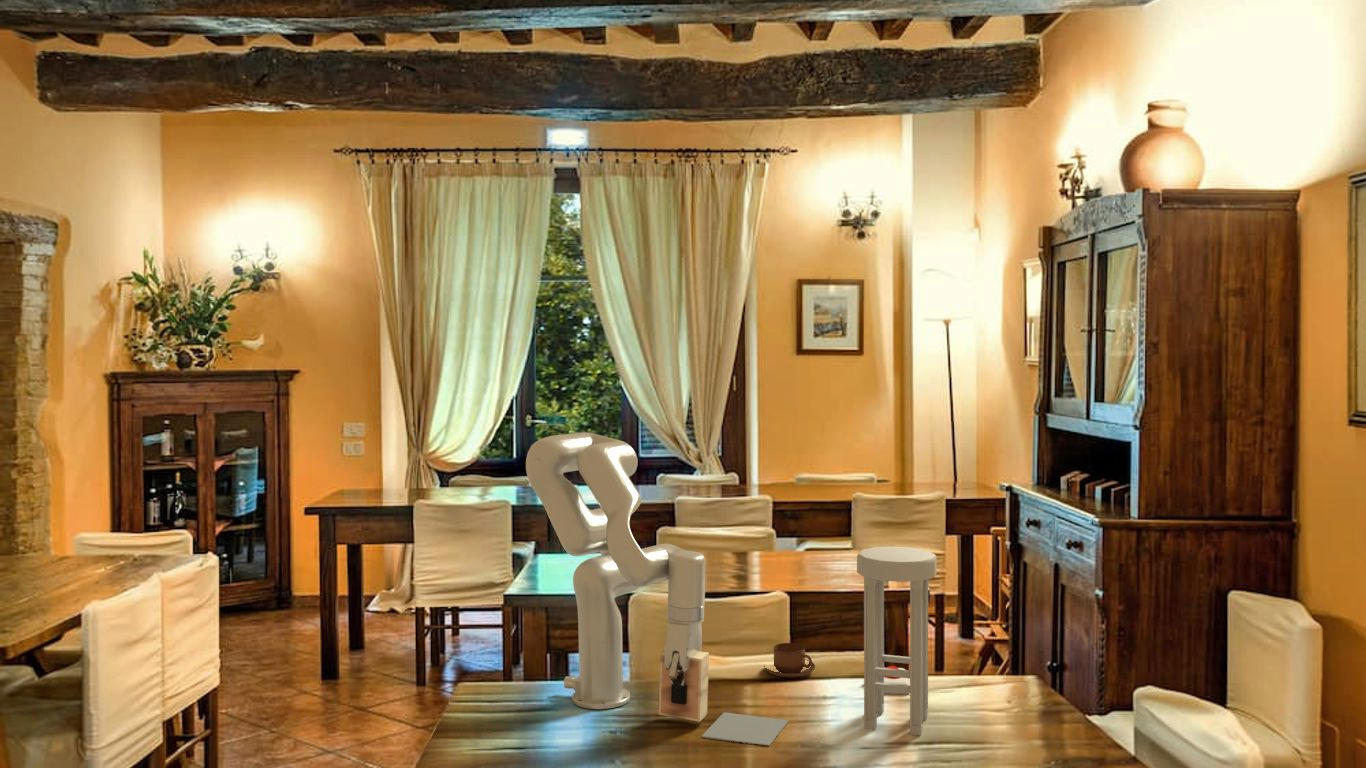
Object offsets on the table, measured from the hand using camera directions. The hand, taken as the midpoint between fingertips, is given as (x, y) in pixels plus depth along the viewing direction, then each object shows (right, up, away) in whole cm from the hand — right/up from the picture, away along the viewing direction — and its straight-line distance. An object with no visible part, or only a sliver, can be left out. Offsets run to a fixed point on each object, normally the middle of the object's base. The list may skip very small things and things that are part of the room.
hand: (683, 698), depth 221 cm
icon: (+46, -4, +22) cm, 51 cm away
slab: (0, -3, 0) cm, 3 cm away
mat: (+13, -5, -4) cm, 14 cm away
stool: (+44, -5, -1) cm, 44 cm away
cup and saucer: (+25, -4, +32) cm, 41 cm away
